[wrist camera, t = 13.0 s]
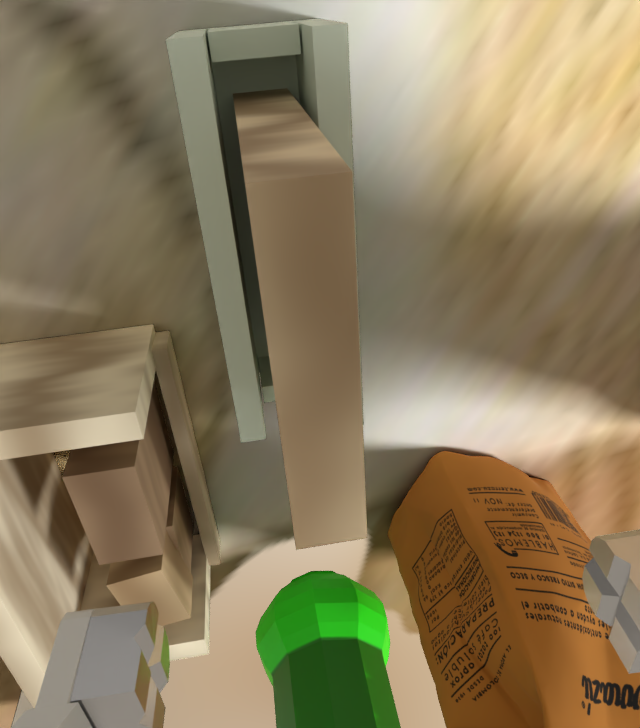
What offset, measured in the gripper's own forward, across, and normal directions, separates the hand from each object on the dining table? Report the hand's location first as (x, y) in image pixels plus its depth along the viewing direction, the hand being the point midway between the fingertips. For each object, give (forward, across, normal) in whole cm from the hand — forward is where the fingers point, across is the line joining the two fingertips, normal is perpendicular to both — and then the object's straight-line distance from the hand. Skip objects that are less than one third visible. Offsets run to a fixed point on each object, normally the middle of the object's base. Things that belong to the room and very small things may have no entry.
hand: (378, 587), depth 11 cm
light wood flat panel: (+21, +1, 0) cm, 21 cm away
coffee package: (+23, -11, +23) cm, 34 cm away
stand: (+22, +1, 0) cm, 22 cm away
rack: (+22, +12, +14) cm, 29 cm away
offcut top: (+17, +10, +18) cm, 27 cm away
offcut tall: (+22, +10, +11) cm, 27 cm away
